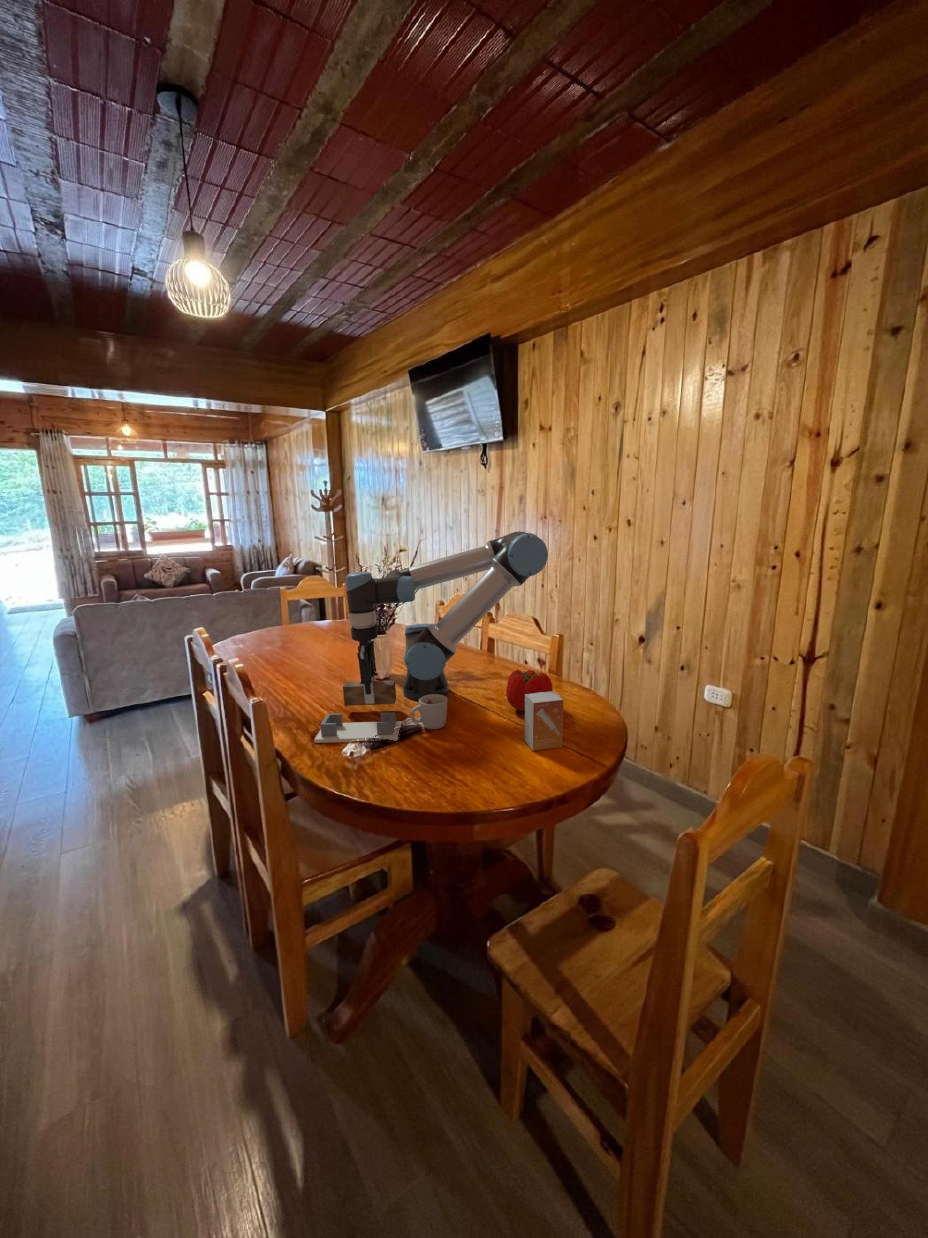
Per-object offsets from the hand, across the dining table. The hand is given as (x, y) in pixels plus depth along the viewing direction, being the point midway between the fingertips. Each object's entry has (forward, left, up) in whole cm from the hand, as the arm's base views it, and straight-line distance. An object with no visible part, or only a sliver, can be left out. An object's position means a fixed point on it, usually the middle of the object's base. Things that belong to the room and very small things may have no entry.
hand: (371, 700), depth 151 cm
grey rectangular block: (0, 0, -1) cm, 1 cm away
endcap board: (+1, +15, -4) cm, 16 cm away
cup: (-18, +12, -4) cm, 22 cm away
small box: (-48, +24, -4) cm, 54 cm away
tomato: (-47, +1, -4) cm, 47 cm away
